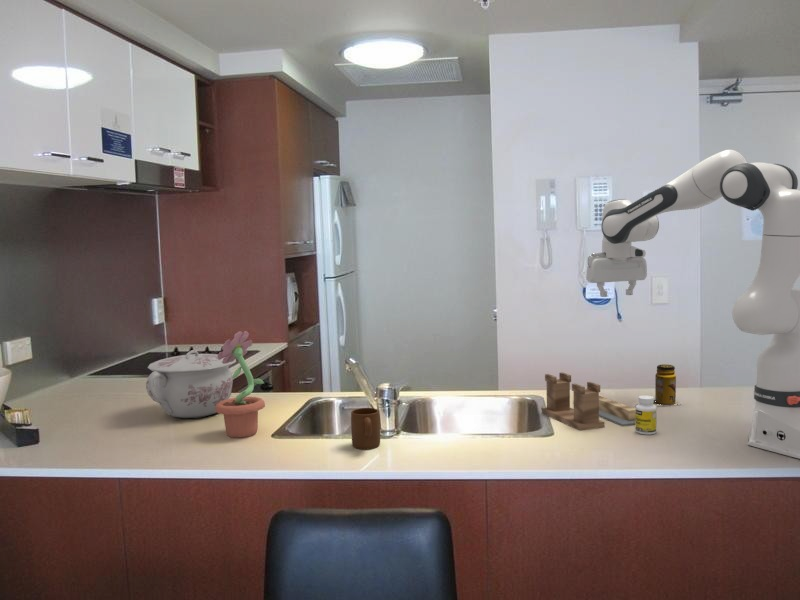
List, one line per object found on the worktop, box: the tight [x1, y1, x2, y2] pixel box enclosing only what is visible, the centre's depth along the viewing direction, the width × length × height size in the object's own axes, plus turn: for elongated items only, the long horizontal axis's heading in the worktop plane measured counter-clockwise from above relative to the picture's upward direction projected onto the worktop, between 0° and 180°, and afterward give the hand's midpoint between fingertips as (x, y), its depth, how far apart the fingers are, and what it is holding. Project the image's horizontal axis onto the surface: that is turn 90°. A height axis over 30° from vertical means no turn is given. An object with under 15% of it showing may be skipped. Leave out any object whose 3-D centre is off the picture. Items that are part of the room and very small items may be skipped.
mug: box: [350, 407, 381, 450], centre depth 188 cm, size 12×8×9 cm, turn 9°
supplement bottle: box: [634, 395, 657, 436], centre depth 195 cm, size 5×5×10 cm
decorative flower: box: [215, 330, 266, 439], centre depth 204 cm, size 15×14×30 cm
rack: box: [541, 371, 606, 431], centre depth 209 cm, size 21×8×12 cm, turn 18°
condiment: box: [653, 364, 682, 407], centre depth 225 cm, size 7×8×12 cm
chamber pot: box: [145, 349, 237, 420], centre depth 230 cm, size 28×28×21 cm
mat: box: [599, 409, 636, 427], centre depth 214 cm, size 24×10×1 cm, turn 18°
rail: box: [599, 395, 636, 421], centre depth 214 cm, size 20×3×3 cm, turn 19°
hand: (616, 295), depth 225 cm, fingers open, 8 cm apart
